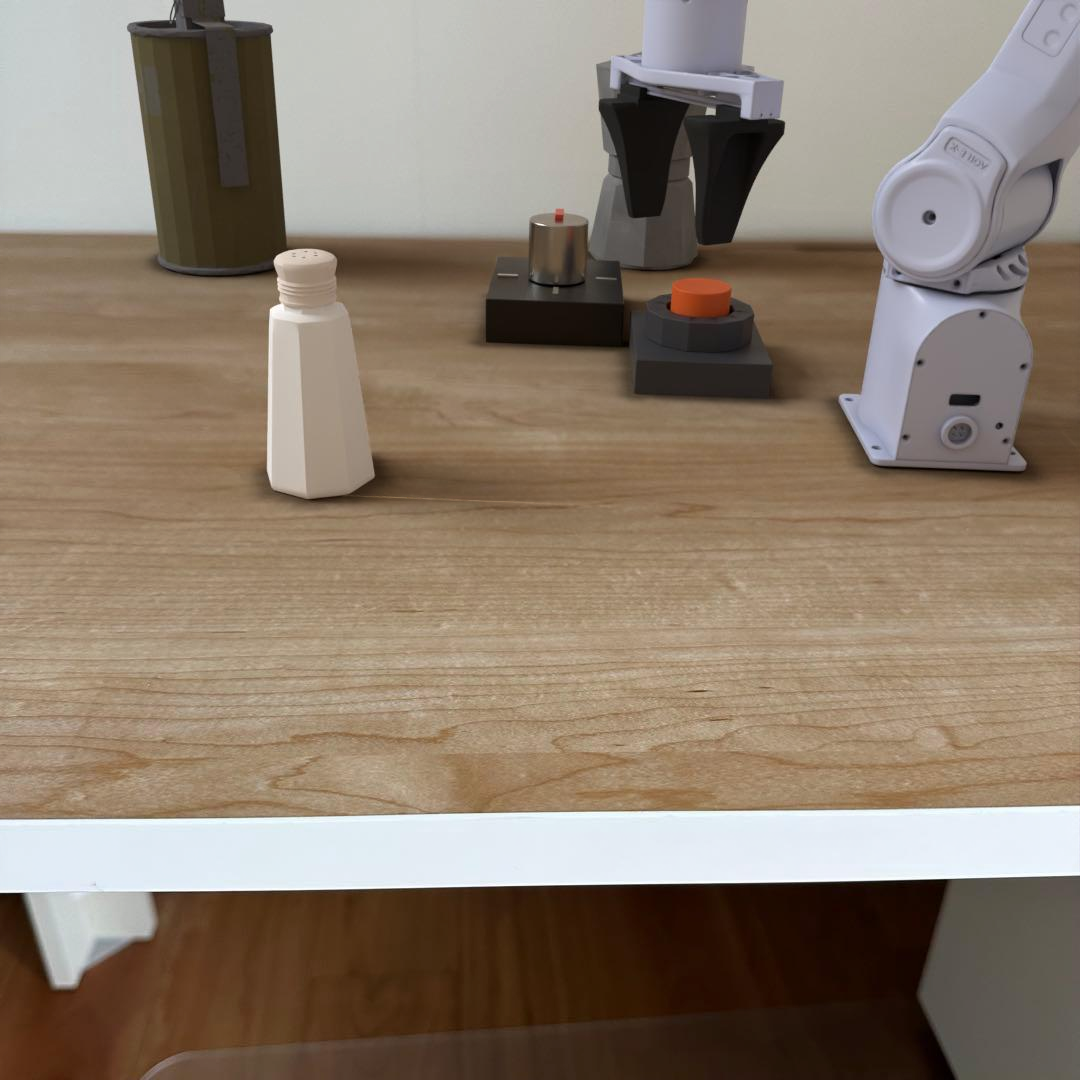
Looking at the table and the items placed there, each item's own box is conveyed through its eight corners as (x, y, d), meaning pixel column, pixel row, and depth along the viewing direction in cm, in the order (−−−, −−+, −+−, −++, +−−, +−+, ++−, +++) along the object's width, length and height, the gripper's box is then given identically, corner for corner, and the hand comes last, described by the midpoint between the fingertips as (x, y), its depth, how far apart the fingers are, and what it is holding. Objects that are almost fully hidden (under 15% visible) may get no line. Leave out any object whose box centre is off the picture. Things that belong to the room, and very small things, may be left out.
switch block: (768, 400, 67) (777, 334, 65) (633, 394, 68) (638, 329, 66) (747, 345, 76) (754, 287, 74) (628, 341, 76) (632, 282, 74)
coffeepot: (702, 279, 90) (725, 33, 82) (584, 274, 91) (595, 28, 82) (693, 234, 104) (712, 19, 96) (590, 230, 104) (601, 15, 96)
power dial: (585, 286, 77) (588, 222, 75) (526, 284, 77) (528, 220, 75) (585, 271, 80) (588, 209, 78) (529, 269, 80) (530, 207, 78)
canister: (146, 250, 94) (109, -19, 84) (270, 239, 98) (247, -18, 89) (175, 283, 86) (138, -12, 76) (309, 269, 90) (289, -11, 81)
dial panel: (621, 348, 75) (624, 301, 74) (485, 343, 75) (485, 296, 74) (617, 300, 85) (620, 258, 83) (497, 296, 85) (497, 254, 83)
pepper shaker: (338, 445, 60) (325, 234, 55) (397, 480, 56) (389, 258, 51) (245, 471, 57) (221, 250, 51) (300, 510, 53) (281, 277, 48)
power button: (731, 323, 69) (735, 294, 68) (672, 321, 69) (674, 292, 68) (725, 305, 72) (728, 278, 71) (668, 303, 72) (670, 276, 71)
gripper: (841, -13, 59) (806, 249, 65) (683, -24, 70) (667, 201, 77) (731, -13, 56) (706, 261, 62) (584, -25, 67) (576, 209, 74)
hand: (678, 229), depth 69 cm, fingers open, 7 cm apart
